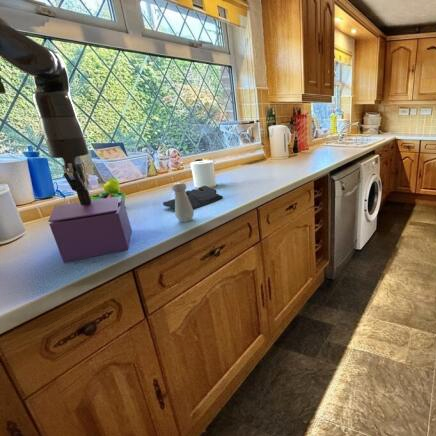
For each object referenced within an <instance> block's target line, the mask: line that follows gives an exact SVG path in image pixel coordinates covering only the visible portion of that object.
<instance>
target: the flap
mask: <svg viewBox="0 0 436 436" xmlns="http://www.w3.org/2000/svg"><path fill="white" fill-rule="evenodd" d="M92 200H93V199H92ZM78 202H79V203H76V202H70V203H71V204H69V203H64V204H57V205H54V207H53V209H52V211H51V214H50V215H49V218H48V219H47V220H48V223H51V222H53V221H60V220H66V219H73V218H79V217H85V216H92V215H98V214H105V213H111V212H117V211H118V197H115V198H108V199H101V200H93V201H92V202H91V204H89V205H81V204H80V201H78Z"/></svg>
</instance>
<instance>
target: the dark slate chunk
mask: <svg viewBox="0 0 436 436" xmlns="http://www.w3.org/2000/svg"><path fill="white" fill-rule="evenodd" d="M185 192H186V194H187V196H188V199H189V201H190V204H191V206H192V209H193V210H196V209H199V208H200V207H203V206H204V207H205V206H206V205H210V204H211V203H215V202H217V201H219V200H221V199H223V198H224V196H223V195H220V194H219V193H218V191H217V189H215V188H213V187H207V186H202V187H200V188H193V189H190V190H189V189H188V190H185ZM209 203H210V204H209ZM162 205H163V206H164V207H167V208H173V209H175V198H173V199H169V200H166V201H163V202H162Z"/></svg>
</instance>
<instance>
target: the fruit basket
mask: <svg viewBox="0 0 436 436" xmlns="http://www.w3.org/2000/svg"><path fill="white" fill-rule="evenodd" d="M102 188H103V190H104V191H101V192H100V193H97V194H93V195H90V198H91V200H98V199H105V198H112V197H120V196H122V199H123V200H124V204H125V203H126V193H125V192H124V193H123V192H120V191H121V187H120V182H119V181H118V180H117V177H115V178H113V177H110V178H109V179H108V181H107V182H106V183H105V184H103V186H102ZM125 205H126V204H125Z"/></svg>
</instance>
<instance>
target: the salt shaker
mask: <svg viewBox="0 0 436 436" xmlns="http://www.w3.org/2000/svg"><path fill="white" fill-rule="evenodd" d="M171 190H172V191H173V192H174V199H175V208H174V216H175V218H176V219H177V220H178V222H180V223H189V222H191V221H192V220H193V218H194V214H195V211H194V209H192V206H191V204H190V201H189V199H188V196H187V194H186V190H187V185H186V183H185V182H175V183H172V184H171Z"/></svg>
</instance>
